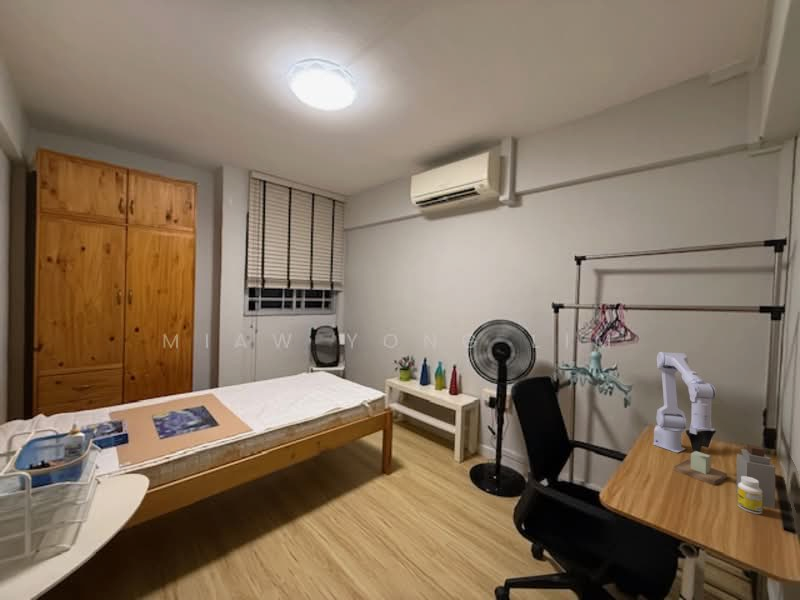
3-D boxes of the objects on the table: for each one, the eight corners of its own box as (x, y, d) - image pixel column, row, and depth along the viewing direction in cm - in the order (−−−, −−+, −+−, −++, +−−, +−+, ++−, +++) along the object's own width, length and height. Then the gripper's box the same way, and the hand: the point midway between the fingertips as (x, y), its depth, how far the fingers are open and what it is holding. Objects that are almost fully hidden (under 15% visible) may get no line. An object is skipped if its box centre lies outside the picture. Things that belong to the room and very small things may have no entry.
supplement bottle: (736, 501, 109) (736, 472, 109) (760, 508, 105) (760, 478, 105) (739, 509, 104) (739, 479, 104) (764, 517, 101) (764, 485, 101)
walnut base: (674, 470, 129) (674, 466, 129) (687, 463, 135) (687, 459, 135) (714, 485, 118) (714, 481, 118) (727, 477, 124) (727, 473, 124)
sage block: (690, 468, 127) (690, 453, 127) (695, 465, 129) (695, 450, 129) (705, 473, 123) (705, 458, 123) (710, 471, 125) (710, 455, 125)
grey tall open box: (736, 491, 115) (737, 441, 115) (762, 497, 112) (763, 445, 112) (746, 502, 108) (747, 448, 108) (774, 508, 105) (775, 453, 106)
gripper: (706, 420, 119) (706, 457, 119) (722, 414, 126) (721, 449, 126) (683, 414, 126) (682, 449, 126) (699, 409, 133) (698, 441, 133)
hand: (700, 448), depth 126 cm, fingers open, 7 cm apart
